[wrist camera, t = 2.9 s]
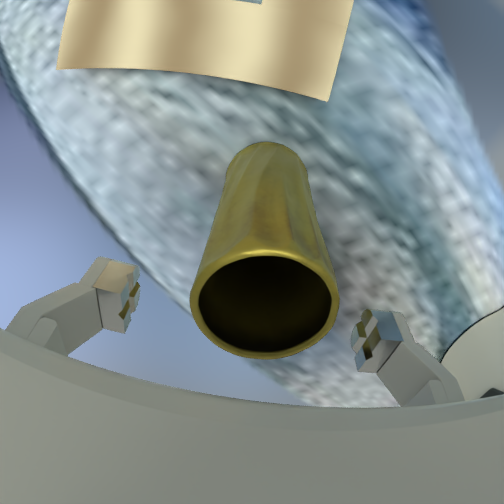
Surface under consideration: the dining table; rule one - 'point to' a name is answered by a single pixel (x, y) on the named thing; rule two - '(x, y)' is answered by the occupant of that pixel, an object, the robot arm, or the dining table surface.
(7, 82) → the dining table surface
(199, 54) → the hole block
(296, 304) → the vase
